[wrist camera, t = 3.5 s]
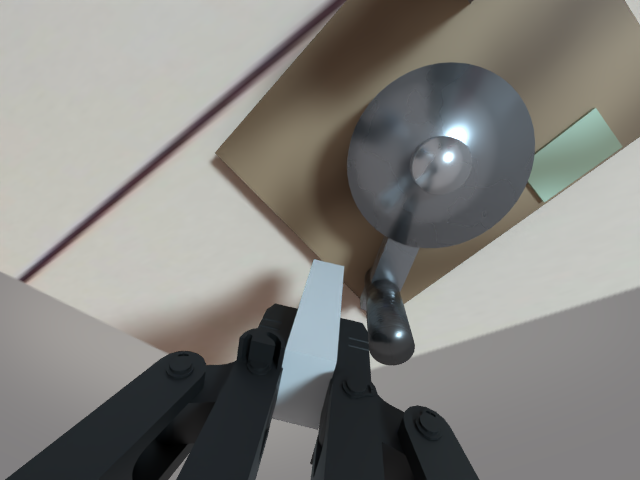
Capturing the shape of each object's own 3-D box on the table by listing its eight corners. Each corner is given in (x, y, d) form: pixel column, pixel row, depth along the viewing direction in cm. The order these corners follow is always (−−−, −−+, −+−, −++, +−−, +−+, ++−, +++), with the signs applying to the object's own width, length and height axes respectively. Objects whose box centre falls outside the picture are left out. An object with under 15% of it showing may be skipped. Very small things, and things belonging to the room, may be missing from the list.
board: (221, 151, 18) (107, 172, 10) (497, -165, 13) (778, -735, 4) (380, 311, 21) (398, 437, 12) (667, 104, 15) (1056, 74, 7)
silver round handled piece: (378, 50, 15) (394, -5, 9) (540, 100, 15) (671, 81, 9) (309, 272, 19) (288, 341, 13) (435, 311, 19) (473, 398, 13)
